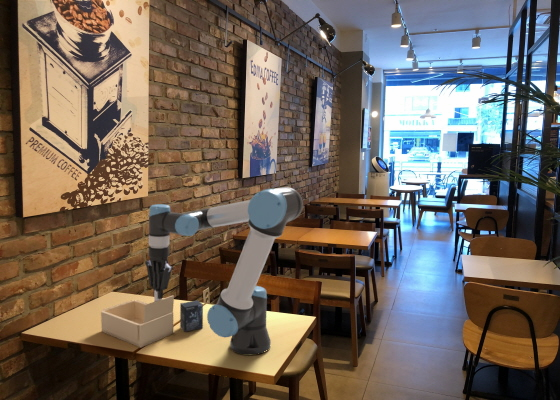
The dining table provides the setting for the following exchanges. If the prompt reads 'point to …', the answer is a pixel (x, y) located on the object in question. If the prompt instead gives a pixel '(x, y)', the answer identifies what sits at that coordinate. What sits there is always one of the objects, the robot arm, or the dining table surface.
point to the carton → (135, 324)
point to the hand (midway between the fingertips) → (158, 306)
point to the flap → (158, 309)
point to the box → (191, 315)
